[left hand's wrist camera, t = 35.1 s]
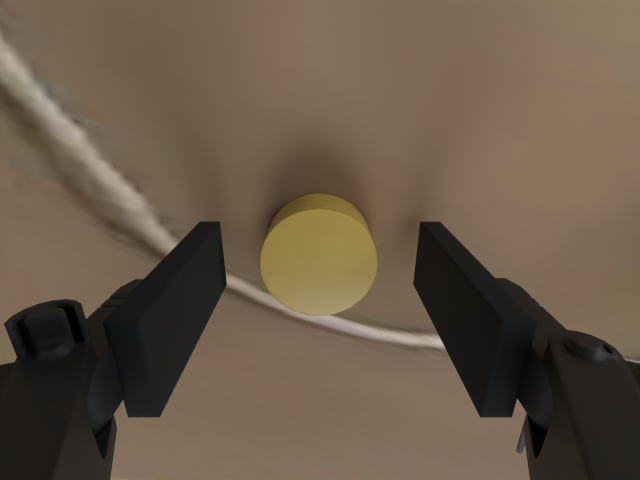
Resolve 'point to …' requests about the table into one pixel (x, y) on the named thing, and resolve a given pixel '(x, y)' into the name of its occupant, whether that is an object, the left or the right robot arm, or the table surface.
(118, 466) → the table surface
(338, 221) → the cap
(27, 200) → the table surface
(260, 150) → the table surface
